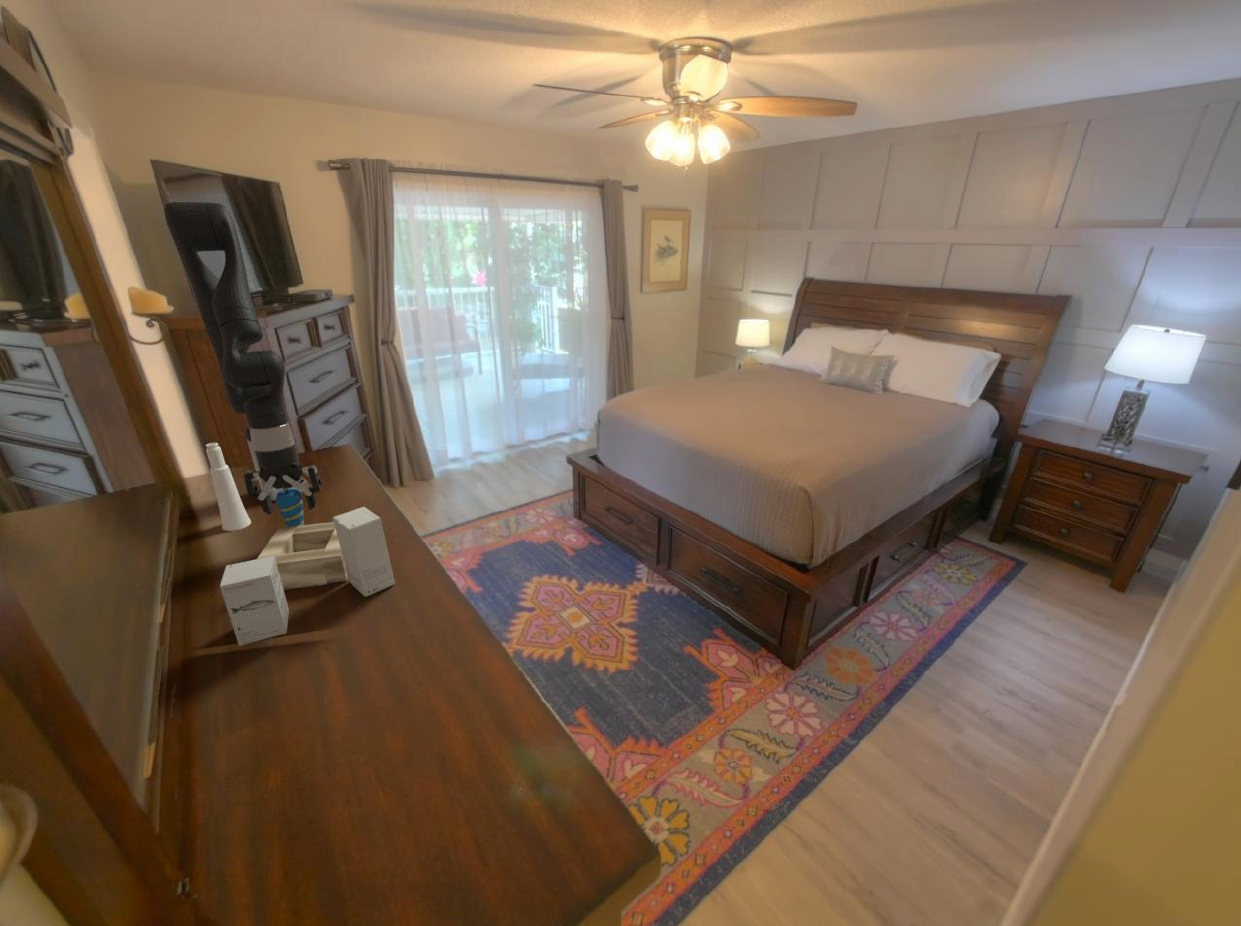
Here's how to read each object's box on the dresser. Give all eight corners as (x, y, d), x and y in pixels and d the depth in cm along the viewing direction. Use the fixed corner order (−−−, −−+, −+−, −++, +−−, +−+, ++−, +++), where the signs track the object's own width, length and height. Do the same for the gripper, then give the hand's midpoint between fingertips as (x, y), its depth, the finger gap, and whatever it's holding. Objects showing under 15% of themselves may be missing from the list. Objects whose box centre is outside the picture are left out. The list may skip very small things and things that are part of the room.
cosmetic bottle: (252, 528, 126) (227, 445, 118) (222, 535, 123) (194, 450, 115) (251, 518, 131) (227, 438, 123) (222, 525, 128) (196, 442, 120)
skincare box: (395, 585, 105) (383, 518, 99) (363, 599, 100) (347, 530, 95) (378, 569, 110) (365, 504, 104) (346, 582, 106) (331, 515, 100)
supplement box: (238, 647, 88) (217, 586, 83) (244, 622, 94) (225, 564, 89) (288, 634, 91) (270, 574, 86) (291, 610, 97) (274, 553, 92)
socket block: (285, 552, 116) (278, 527, 114) (361, 543, 120) (356, 519, 118) (259, 593, 102) (251, 566, 100) (346, 581, 106) (340, 555, 104)
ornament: (317, 537, 122) (303, 480, 117) (303, 548, 118) (288, 489, 112) (297, 536, 123) (282, 479, 117) (282, 547, 118) (266, 488, 113)
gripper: (315, 436, 116) (329, 500, 122) (243, 441, 113) (262, 507, 119) (305, 447, 109) (321, 514, 115) (229, 452, 106) (249, 522, 112)
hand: (291, 510), depth 117 cm, fingers open, 8 cm apart
